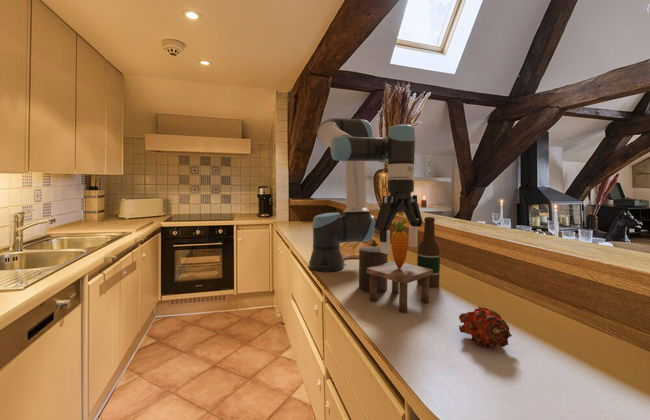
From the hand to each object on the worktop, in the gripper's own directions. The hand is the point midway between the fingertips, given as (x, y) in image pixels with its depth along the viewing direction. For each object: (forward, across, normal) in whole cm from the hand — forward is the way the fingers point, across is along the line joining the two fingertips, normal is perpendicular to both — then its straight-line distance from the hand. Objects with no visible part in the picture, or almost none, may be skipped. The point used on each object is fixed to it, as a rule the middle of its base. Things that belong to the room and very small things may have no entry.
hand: (399, 249), depth 91 cm
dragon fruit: (+16, -6, -27) cm, 32 cm away
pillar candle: (+16, +3, +13) cm, 21 cm away
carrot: (+6, 0, 0) cm, 6 cm away
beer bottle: (+16, +21, +3) cm, 26 cm away
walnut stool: (+16, 0, 0) cm, 16 cm away
